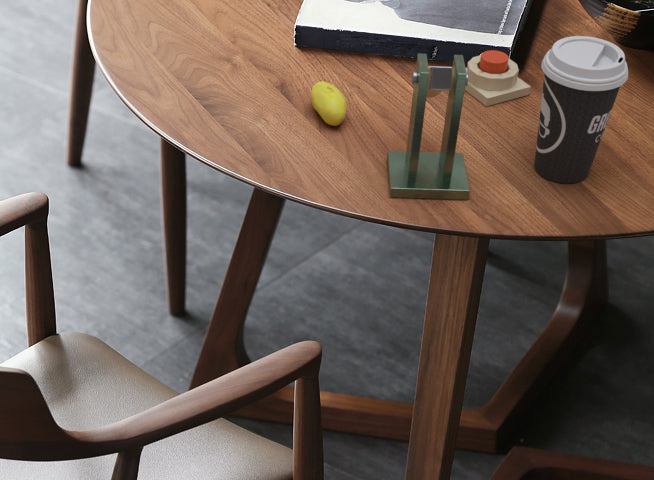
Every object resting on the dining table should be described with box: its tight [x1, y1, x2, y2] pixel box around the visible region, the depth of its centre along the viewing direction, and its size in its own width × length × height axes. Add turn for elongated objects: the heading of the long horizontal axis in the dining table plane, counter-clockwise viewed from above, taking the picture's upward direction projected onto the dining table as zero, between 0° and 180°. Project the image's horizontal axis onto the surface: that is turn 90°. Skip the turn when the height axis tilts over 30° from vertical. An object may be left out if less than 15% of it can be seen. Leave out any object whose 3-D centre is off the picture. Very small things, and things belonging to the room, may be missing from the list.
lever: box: [426, 65, 452, 99], centre depth 122 cm, size 12×4×4 cm, turn 179°
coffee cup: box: [533, 35, 629, 185], centre depth 124 cm, size 10×10×15 cm
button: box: [479, 49, 510, 74], centre depth 141 cm, size 4×4×2 cm
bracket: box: [386, 53, 470, 201], centre depth 121 cm, size 8×9×15 cm
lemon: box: [310, 80, 348, 127], centre depth 135 cm, size 4×8×4 cm, turn 12°
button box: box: [464, 54, 532, 107], centre depth 142 cm, size 8×7×3 cm
